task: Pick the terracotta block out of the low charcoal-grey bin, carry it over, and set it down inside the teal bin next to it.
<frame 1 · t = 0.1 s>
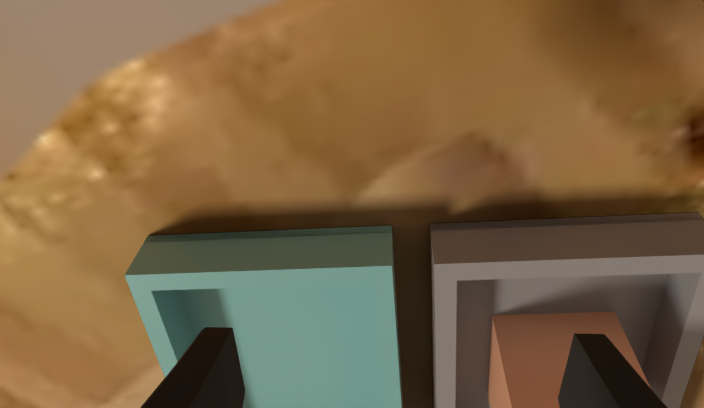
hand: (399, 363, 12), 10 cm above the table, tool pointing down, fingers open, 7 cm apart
grey bin: (544, 346, 26), on the table
teal bin: (292, 351, 27), on the table
terracotta block: (547, 354, 25), resting on grey bin
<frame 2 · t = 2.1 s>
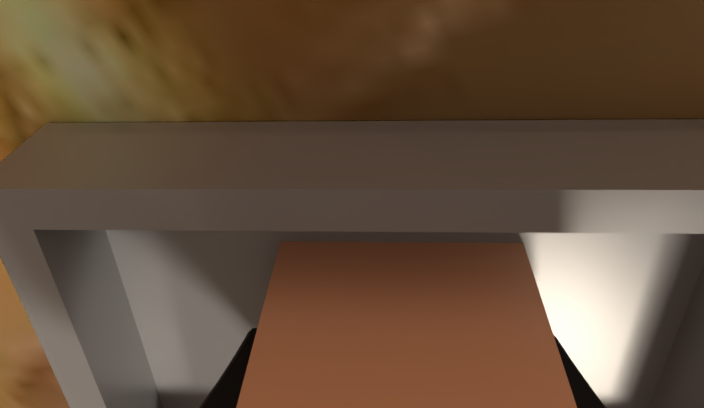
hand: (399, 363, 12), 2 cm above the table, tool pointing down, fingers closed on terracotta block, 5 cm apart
grey bin: (398, 314, 14), on the table
terracotta block: (398, 329, 13), resting on grey bin, touching gripper
when the fingers open (3 cm above the table, at t = 5.7 s): terracotta block drops 1 cm, resting on teal bin.
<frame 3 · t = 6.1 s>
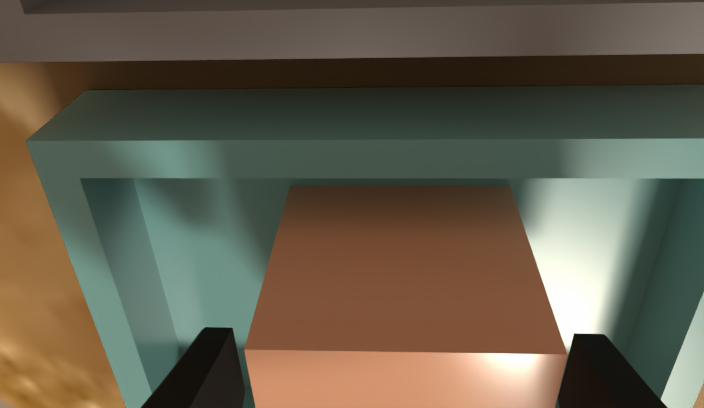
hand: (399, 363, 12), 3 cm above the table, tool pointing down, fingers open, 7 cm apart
teal bin: (397, 268, 15), on the table
terracotta block: (397, 270, 14), resting on teal bin
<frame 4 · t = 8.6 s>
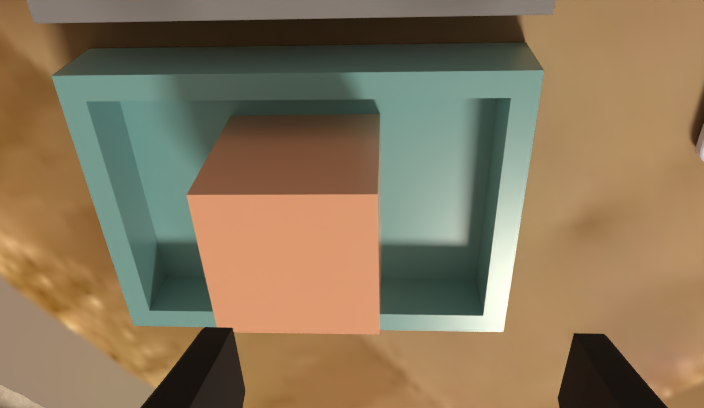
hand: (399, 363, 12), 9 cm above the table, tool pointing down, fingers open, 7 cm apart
teal bin: (313, 180, 21), on the table
terracotta block: (310, 179, 20), resting on teal bin
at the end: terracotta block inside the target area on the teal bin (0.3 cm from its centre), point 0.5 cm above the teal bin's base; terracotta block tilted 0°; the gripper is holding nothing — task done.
